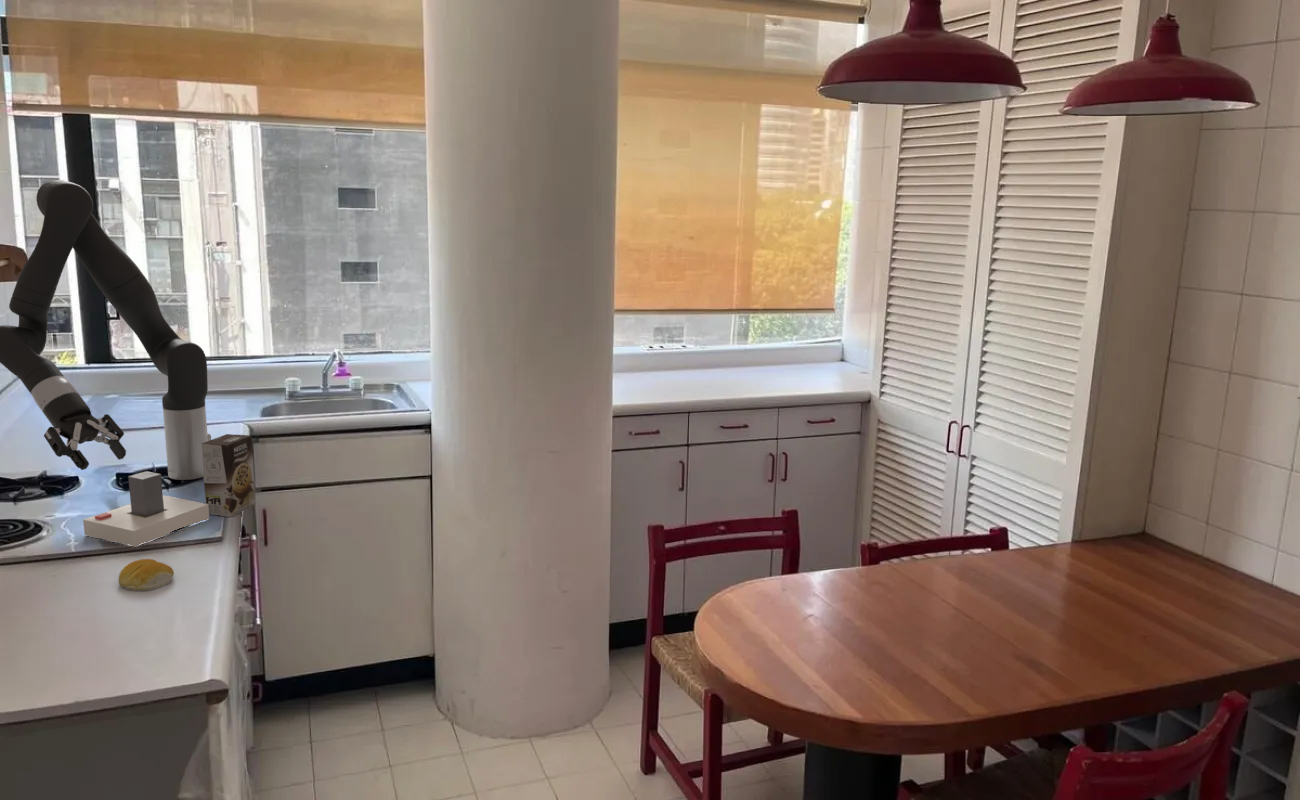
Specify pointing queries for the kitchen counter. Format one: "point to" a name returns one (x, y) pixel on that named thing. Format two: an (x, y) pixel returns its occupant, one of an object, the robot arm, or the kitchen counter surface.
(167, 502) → the socket plate
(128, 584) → the bread roll
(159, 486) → the plug
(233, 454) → the coffee box
